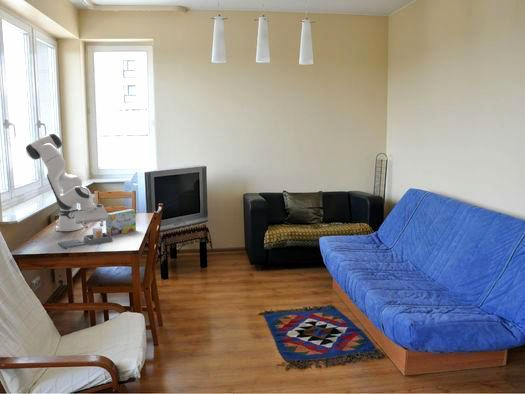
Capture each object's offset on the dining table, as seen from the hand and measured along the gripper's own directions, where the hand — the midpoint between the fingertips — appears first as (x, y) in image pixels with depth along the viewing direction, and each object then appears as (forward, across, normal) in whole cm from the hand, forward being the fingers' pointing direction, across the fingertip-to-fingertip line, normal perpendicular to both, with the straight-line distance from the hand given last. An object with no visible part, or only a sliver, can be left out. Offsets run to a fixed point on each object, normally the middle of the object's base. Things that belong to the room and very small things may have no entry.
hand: (94, 226), depth 284 cm
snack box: (-1, +21, +14) cm, 25 cm away
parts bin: (+9, +1, +4) cm, 10 cm away
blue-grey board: (+7, -14, +6) cm, 17 cm away
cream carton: (+8, +1, +4) cm, 9 cm away
